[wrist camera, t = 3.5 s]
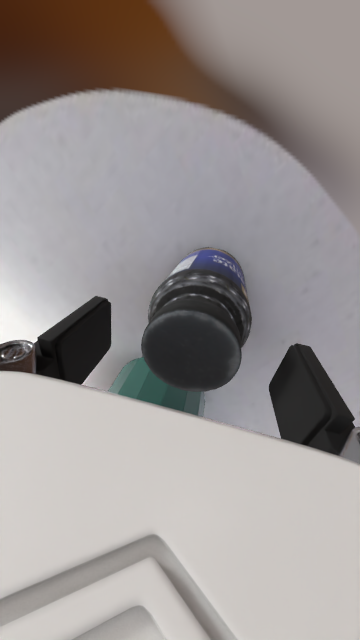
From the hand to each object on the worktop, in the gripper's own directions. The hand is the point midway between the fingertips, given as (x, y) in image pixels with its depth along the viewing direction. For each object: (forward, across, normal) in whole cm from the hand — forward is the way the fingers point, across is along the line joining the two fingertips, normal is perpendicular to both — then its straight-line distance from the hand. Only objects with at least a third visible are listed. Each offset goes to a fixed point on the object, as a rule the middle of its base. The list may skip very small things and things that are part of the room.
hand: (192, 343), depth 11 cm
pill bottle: (+10, 0, 0) cm, 10 cm away
